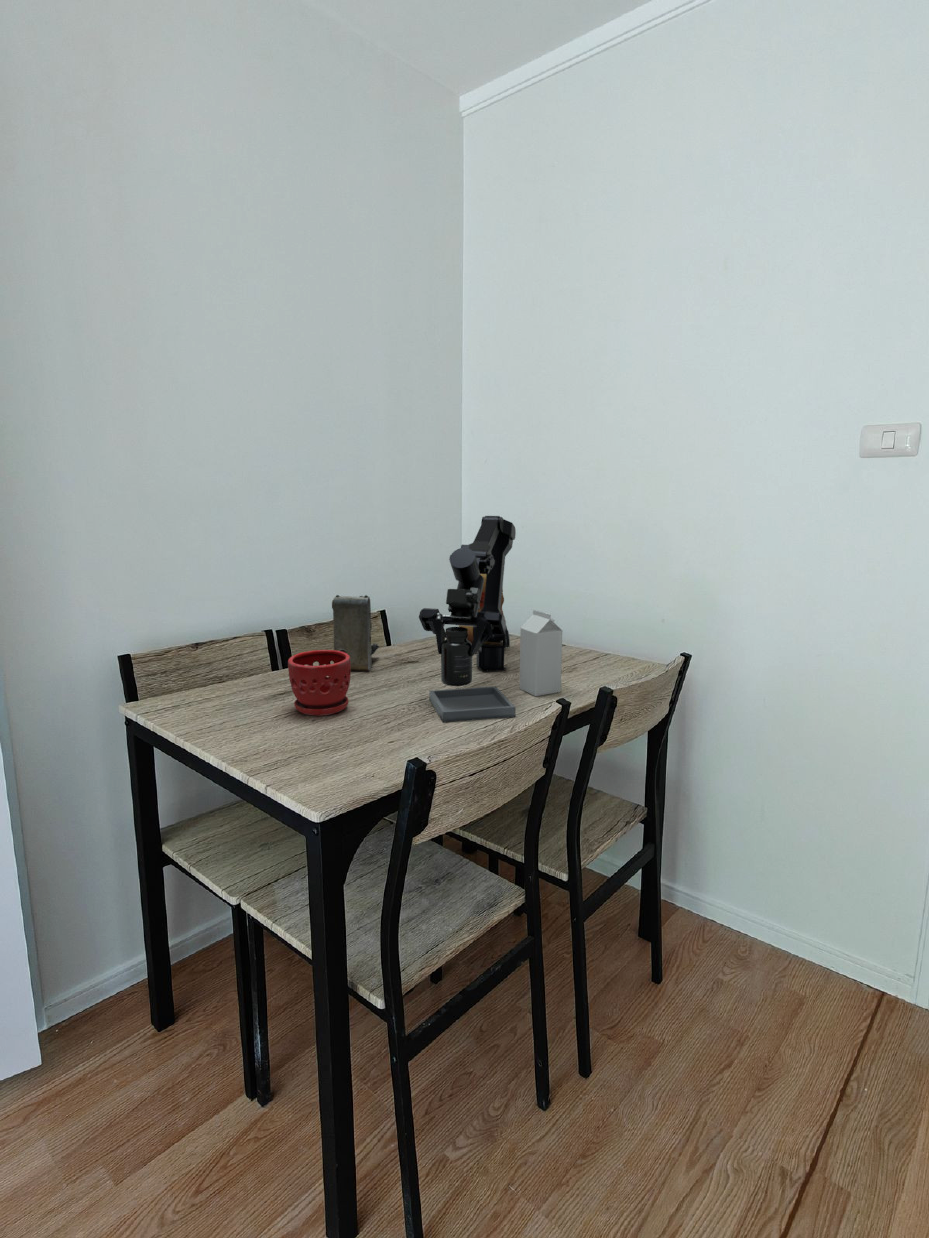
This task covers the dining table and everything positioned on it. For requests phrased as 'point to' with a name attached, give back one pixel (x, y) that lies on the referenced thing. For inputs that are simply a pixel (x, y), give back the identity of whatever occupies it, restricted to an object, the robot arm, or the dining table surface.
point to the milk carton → (540, 655)
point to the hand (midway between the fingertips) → (455, 654)
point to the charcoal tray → (471, 704)
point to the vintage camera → (353, 630)
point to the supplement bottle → (456, 657)
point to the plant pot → (320, 681)
